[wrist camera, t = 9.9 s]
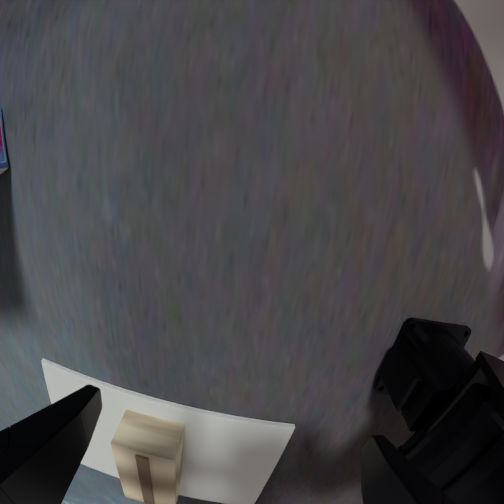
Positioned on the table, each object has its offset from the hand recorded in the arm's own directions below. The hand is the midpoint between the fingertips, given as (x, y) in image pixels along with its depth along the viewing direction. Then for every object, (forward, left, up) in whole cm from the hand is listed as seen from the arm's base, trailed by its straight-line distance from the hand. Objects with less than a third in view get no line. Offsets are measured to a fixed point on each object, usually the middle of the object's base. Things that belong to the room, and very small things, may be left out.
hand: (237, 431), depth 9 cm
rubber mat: (+5, +19, -11) cm, 22 cm away
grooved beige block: (+5, +18, -11) cm, 21 cm away
